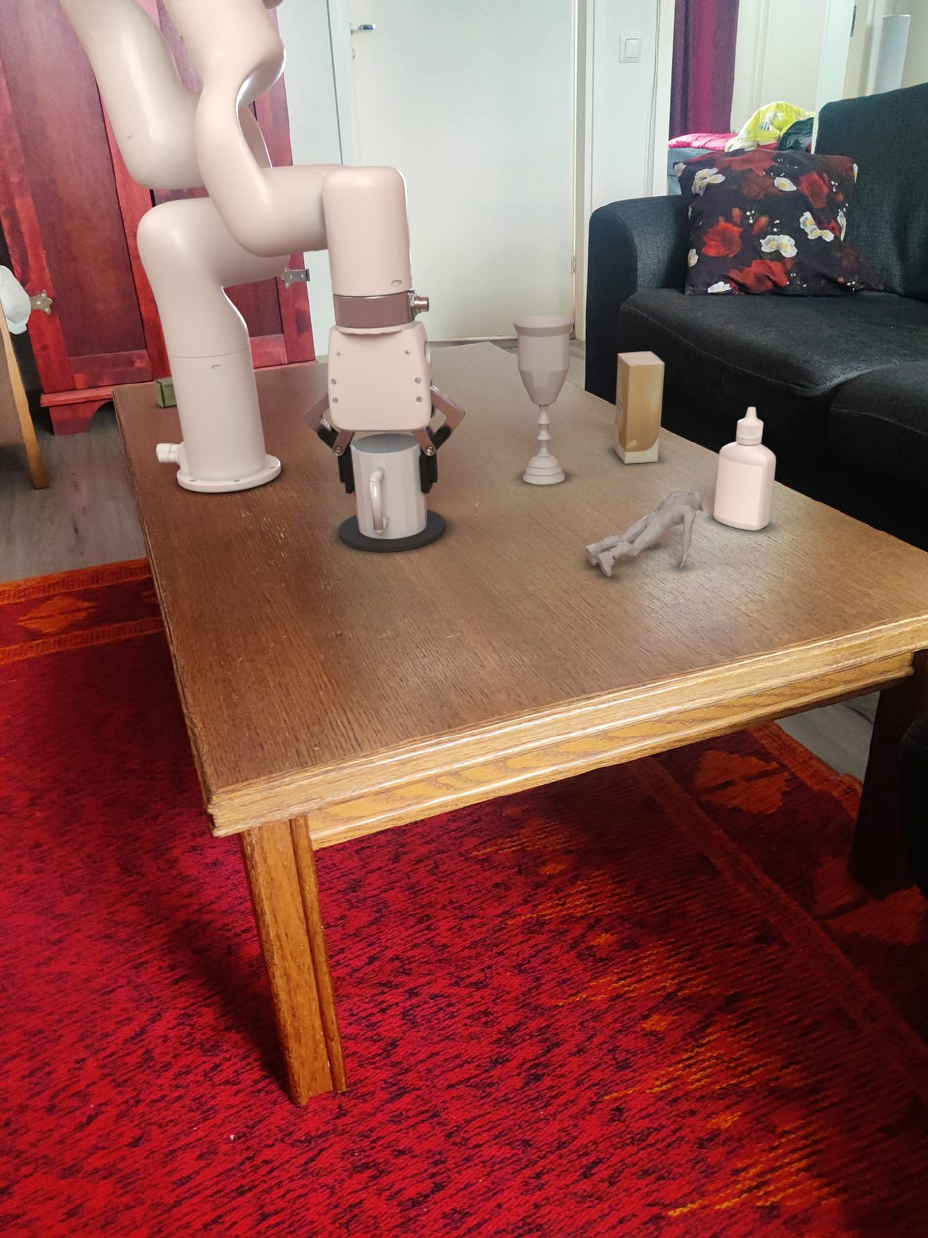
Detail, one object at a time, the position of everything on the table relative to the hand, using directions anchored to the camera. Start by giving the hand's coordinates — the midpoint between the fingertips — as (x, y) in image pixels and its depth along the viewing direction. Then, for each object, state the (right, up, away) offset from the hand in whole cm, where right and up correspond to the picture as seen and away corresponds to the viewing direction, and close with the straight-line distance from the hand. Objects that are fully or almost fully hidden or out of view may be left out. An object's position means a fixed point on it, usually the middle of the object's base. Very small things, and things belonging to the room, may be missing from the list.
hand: (389, 487), depth 98 cm
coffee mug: (0, -4, +1) cm, 4 cm away
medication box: (-36, +22, +56) cm, 69 cm away
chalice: (+17, +3, +15) cm, 23 cm away
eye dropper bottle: (+36, -4, 0) cm, 36 cm away
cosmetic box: (+29, +7, +21) cm, 36 cm away
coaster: (0, -4, +2) cm, 5 cm away
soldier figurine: (+25, -8, -7) cm, 27 cm away
